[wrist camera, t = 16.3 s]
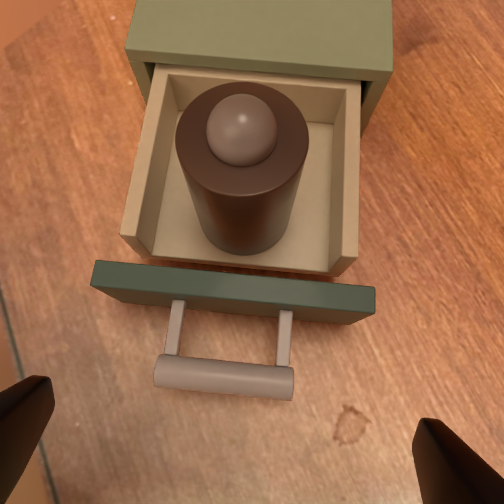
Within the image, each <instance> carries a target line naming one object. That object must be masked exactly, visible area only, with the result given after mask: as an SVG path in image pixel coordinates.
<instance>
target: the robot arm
mask: <svg viewBox="0 0 504 504" xmlns="http://www.w3.org/2000/svg"><path fill="white" fill-rule="evenodd" d="M54 407H55V399H54V393H53V387H52V382H51V379H50V378H49V377H47V376H38V375H32V376H30V377H28V378H26V379H24V380H22V381H20V382H18V383H17V384H15V385H13V386H11V387H9V388H8V389H6V390H4V391H2V392H0V504H5V502H6V501H7V499H8V497H9V496H10V494H11V492H12V491H13V489H14V488H15V486H16V484H17V482H18V481H19V479H20V477H21V475H22V474H23V472H24V470H25V468H26V466H27V464H28V462H29V460H30V458H31V456H32V454H33V452H34V450H35V448H36V446H37V444H38V442H39V440H40V438H41V436H42V434H43V432H44V429H45V427H46V425H47V423H48V421H49V419H50V417H51V415H52V413H53V411H54ZM412 453H413V458H414V463H415V468H416V473H417V477H418V482H419V487H420V492H421V496H422V501H423V504H504V479H503V478H502V477H501V476H500V475H499V474H498V473H497V472H496V471H495V470H494V469H493V468H492V467H491V466H489V465H488V464H487V463H486V462H485V461H484V460H483V459H482V458H481V457H480V456H479V455H478V454H477V453H475V452H474V451H473V450H472V449H471V448H470V447H469V446H468V445H467V444H466V443H465V442H464V441H463V440H461V439H460V438H459V437H458V436H457V435H456V434H455V433H454V432H453V431H452V430H451V429H450V428H449V427H448V426H446V425H445V424H444V423H443V422H442V421H441V420H439V419H433V418H421V419H420V421H419V423H418V426H417V429H416V432H415V435H414V438H413V442H412Z"/></svg>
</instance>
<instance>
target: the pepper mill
mask: <svg viewBox="0 0 504 504" xmlns="http://www.w3.org/2000/svg"><path fill="white" fill-rule="evenodd" d="M175 148H176V153H177V156H178V159H179V162H180V165H181V168H182V171H183V174H184V177H185V180H186V183H187V186H188V189H189V192H190V195H191V198H192V201H193V204H194V207H195V210H196V213H197V216H198V219H199V222H200V225H201V228H202V230H203V232H204V234H205V236H206V237H207V238H208V240H209V241H210V242H211V243H212V244H213V245H215V246H216V247H217V248H219V249H221V250H222V251H225V252H227V253H230V254H234V255H240V256H248V255H254V254H259V253H261V252H264V251H266V250H268V249H270V248H271V247H272V246H274V245H275V244H276V243H277V242H278V241H279V240H280V239H281V238H282V236H283V235H284V233H285V231H286V229H287V226H288V223H289V219H290V215H291V212H292V208H293V204H294V201H295V197H296V193H297V190H298V186H299V182H300V179H301V175H302V171H303V168H304V164H305V160H306V157H307V153H308V148H309V132H308V127H307V124H306V121H305V119H304V117H303V115H302V113H301V111H300V110H299V109H298V107H297V106H296V105H295V104H294V103H293V102H292V100H290V99H289V98H288V97H287V96H286V95H284V94H283V93H281V92H279V91H278V90H276V89H274V88H272V87H269V86H266V85H263V84H259V83H253V82H231V83H226V84H222V85H218V86H215V87H213V88H211V89H209V90H207V91H205V92H203V93H202V94H200V95H199V96H198V97H196V98H195V99H194V100H193V101H192V102H191V103H190V104H189V105H188V106H187V108H186V109H185V110H184V112H183V114H182V115H181V117H180V120H179V122H178V125H177V128H176V133H175Z"/></svg>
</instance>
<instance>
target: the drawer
mask: <svg viewBox="0 0 504 504" xmlns="http://www.w3.org/2000/svg"><path fill="white" fill-rule="evenodd" d="M231 82H253V83H259V84H263V85H266V86H269V87H272V88H274V89H276V90H278V91H279V92H281V93H283V94H284V95H286V96H287V97H288V98H289V99H290V100H292V102H293V103H294V104H295V105H296V106H297V107H298V109H299V110H300V111H301V113H302V115H303V117H304V119H305V121H306V124H307V127H308V132H309V148H308V153H307V157H306V160H305V164H304V168H303V171H302V175H301V179H300V182H299V186H298V190H297V193H296V197H295V201H294V204H293V208H292V212H291V215H290V219H289V223H288V226H287V229H286V231H285V233H284V235H283V236H282V238H281V239H280V240H279V241H278V242H277V243H276V244H275V245H274V246H272V247H271V248H270V249H268V250H266V251H264V252H261V253H259V254H254V255H248V256H240V255H234V254H230V253H227V252H225V251H222V250H221V249H219V248H217V247H216V246H215V245H213V244H212V243H211V242H210V241H209V240H208V238H207V237H206V236H205V234H204V232H203V230H202V228H201V225H200V222H199V219H198V216H197V213H196V210H195V207H194V204H193V201H192V198H191V195H190V192H189V189H188V186H187V183H186V180H185V177H184V174H183V171H182V168H181V165H180V162H179V159H178V156H177V153H176V148H175V133H176V128H177V125H178V122H179V120H180V117H181V115H182V114H183V112H184V110H185V109H186V108H187V106H188V105H189V104H190V103H191V102H192V101H193V100H194V99H195V98H196V97H198V96H199V95H200V94H202V93H203V92H205V91H207V90H209V89H211V88H213V87H215V86H218V85H222V84H226V83H231ZM360 115H361V80H353V79H341V78H329V77H318V76H306V75H294V74H282V73H271V72H259V71H247V70H236V69H224V68H212V67H200V66H189V65H177V64H165V63H156V66H155V70H154V75H153V79H152V84H151V89H150V93H149V98H148V102H147V107H146V112H145V116H144V121H143V126H142V130H141V135H140V139H139V144H138V149H137V153H136V158H135V162H134V167H133V172H132V176H131V181H130V185H129V190H128V195H127V199H126V204H125V208H124V213H123V218H122V222H121V227H120V232H119V235H120V236H121V237H122V238H123V239H124V240H125V241H126V242H127V243H128V244H129V245H130V246H131V248H132V249H133V250H134V251H135V252H136V253H138V255H139V256H140V257H142V258H149V259H159V260H170V261H180V262H190V263H201V264H211V265H221V266H232V267H242V268H252V269H263V270H273V271H283V272H294V273H304V274H314V275H325V276H335V277H339V276H340V275H341V274H342V273H344V271H345V270H346V269H347V268H348V267H349V266H350V265H351V264H352V263H353V262H354V261H355V260H356V259H357V258H358V257H359V189H360ZM90 286H92V287H94V288H96V289H98V290H100V291H102V292H104V293H105V294H107V295H109V296H111V297H113V298H115V299H117V300H119V301H121V302H124V303H134V304H144V305H154V306H164V307H171V312H170V318H169V324H168V330H167V336H166V343H165V349H164V354H160V355H159V356H158V358H157V361H156V364H155V369H154V376H153V382H154V386H155V387H160V388H170V389H180V390H189V391H199V392H208V393H218V394H228V395H237V396H247V397H256V398H266V399H276V400H285V401H291V400H292V396H293V389H294V370H293V368H292V367H289V364H290V348H291V333H292V319H295V320H305V321H315V322H325V323H335V324H345V325H350V324H352V323H355V322H357V321H359V320H361V319H364V318H366V317H368V316H371V315H373V314H375V287H371V286H361V285H350V284H340V283H330V282H320V281H309V280H299V279H289V278H278V277H268V276H258V275H248V274H237V273H227V272H217V271H206V270H196V269H186V268H175V267H165V266H155V265H145V264H134V263H124V262H114V261H103V260H96V261H95V265H94V270H93V274H92V278H91V283H90ZM186 309H194V310H204V311H214V312H224V313H234V314H244V315H254V316H265V317H275V318H279V320H278V333H277V346H276V359H275V365H276V366H272V365H262V364H253V363H243V362H233V361H223V360H213V359H204V358H194V357H184V356H178V355H179V351H180V345H181V338H182V332H183V325H184V318H185V312H186Z"/></svg>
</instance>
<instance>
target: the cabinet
mask: <svg viewBox="0 0 504 504" xmlns="http://www.w3.org/2000/svg"><path fill="white" fill-rule="evenodd" d="M125 51H126V54H127V56H128V59H129V62H130V64H131V67H132V70H133V72H134V75H135V77H136V80H137V82H138V85H139V88H140V90H141V93H142V95H143V98H144V100H145V103H146V106H147V102H148V98H149V93H150V89H151V84H152V79H153V75H154V70H155V66H156V63H165V64H177V65H189V66H200V67H212V68H224V69H236V70H247V71H259V72H271V73H282V74H294V75H306V76H318V77H329V78H341V79H353V80H361V115H360V139H361V137H362V135H363V132H364V130H365V128H366V126H367V124H368V122H369V120H370V118H371V116H372V114H373V112H374V110H375V108H376V106H377V103H378V101H379V99H380V97H381V95H382V93H383V91H384V89H385V87H386V85H387V82H388V81H389V79H390V77H391V75H392V73H393V27H392V0H137V1H136V5H135V9H134V13H133V16H132V20H131V24H130V28H129V32H128V36H127V40H126V44H125Z"/></svg>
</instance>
